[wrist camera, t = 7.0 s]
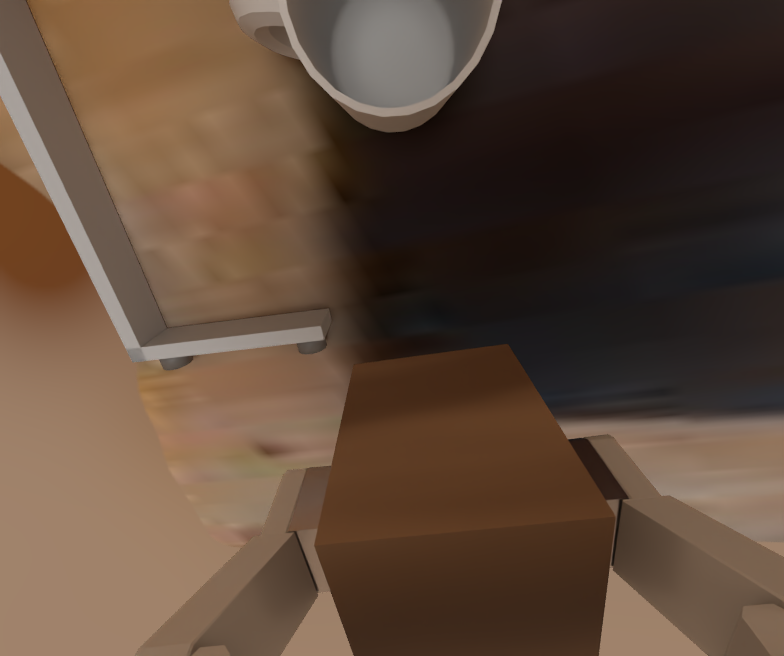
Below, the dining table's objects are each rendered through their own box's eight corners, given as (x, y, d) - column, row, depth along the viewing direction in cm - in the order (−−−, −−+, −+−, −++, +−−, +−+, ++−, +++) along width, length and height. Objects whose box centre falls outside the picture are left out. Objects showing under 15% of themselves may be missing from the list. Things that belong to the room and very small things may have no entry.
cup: (450, 139, 21) (483, 125, 13) (277, 124, 21) (201, 102, 13) (470, -24, 18) (529, -173, 10) (268, -42, 18) (162, -210, 10)
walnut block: (353, 364, 10) (314, 545, 5) (507, 344, 9) (615, 515, 5) (379, 477, 11) (367, 693, 7) (511, 463, 11) (595, 678, 6)
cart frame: (-37, -96, 17) (-119, -144, 15) (226, -152, 16) (192, -214, 14) (166, 358, 27) (141, 380, 25) (335, 338, 27) (328, 358, 24)
